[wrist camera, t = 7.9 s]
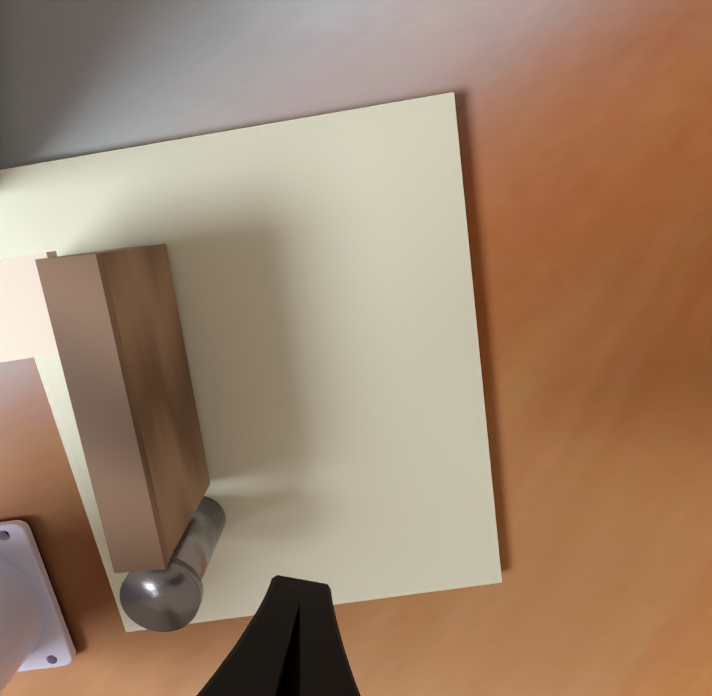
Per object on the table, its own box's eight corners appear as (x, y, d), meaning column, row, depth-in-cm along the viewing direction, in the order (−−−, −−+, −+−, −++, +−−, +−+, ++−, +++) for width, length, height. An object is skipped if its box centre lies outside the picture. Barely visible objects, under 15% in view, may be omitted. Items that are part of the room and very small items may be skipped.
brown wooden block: (211, 483, 22) (165, 569, 16) (172, 487, 22) (114, 573, 16) (167, 243, 19) (95, 253, 14) (123, 247, 19) (35, 259, 14)
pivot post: (182, 540, 23) (131, 636, 18) (167, 487, 23) (109, 570, 17) (241, 532, 23) (207, 626, 18) (228, 478, 22) (188, 560, 17)
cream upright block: (78, 327, 21) (-18, 365, 15) (55, 254, 20) (-53, 268, 15) (148, 315, 21) (76, 350, 15) (128, 242, 20) (45, 252, 15)
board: (131, 622, 24) (126, 632, 24) (-16, 175, 19) (-28, 174, 19) (498, 573, 24) (502, 582, 23) (450, 95, 18) (453, 91, 18)
